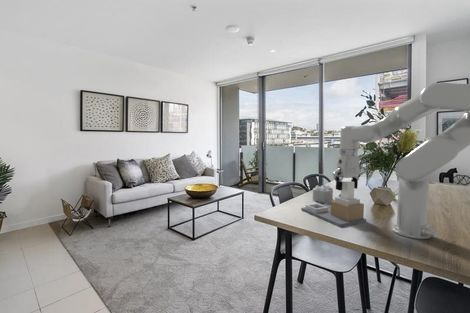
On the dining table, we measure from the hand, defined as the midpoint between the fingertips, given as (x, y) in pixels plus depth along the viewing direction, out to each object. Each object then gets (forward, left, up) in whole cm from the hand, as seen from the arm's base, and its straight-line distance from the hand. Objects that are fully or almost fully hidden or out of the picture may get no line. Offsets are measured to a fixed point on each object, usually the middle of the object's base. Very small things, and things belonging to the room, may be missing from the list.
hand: (346, 188), depth 112 cm
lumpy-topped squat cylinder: (+30, -15, -15) cm, 37 cm away
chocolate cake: (+12, -14, -15) cm, 24 cm away
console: (+6, +3, -14) cm, 16 cm away
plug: (0, 0, -6) cm, 6 cm away
